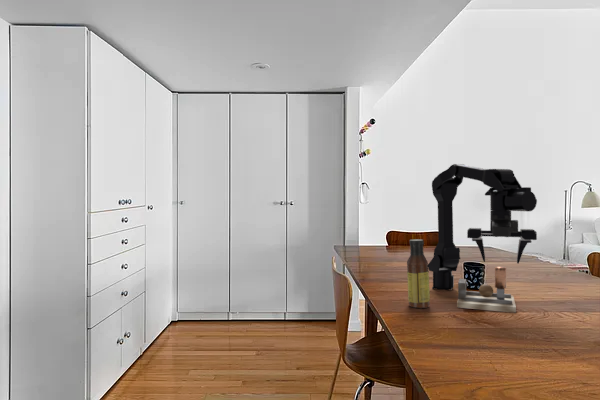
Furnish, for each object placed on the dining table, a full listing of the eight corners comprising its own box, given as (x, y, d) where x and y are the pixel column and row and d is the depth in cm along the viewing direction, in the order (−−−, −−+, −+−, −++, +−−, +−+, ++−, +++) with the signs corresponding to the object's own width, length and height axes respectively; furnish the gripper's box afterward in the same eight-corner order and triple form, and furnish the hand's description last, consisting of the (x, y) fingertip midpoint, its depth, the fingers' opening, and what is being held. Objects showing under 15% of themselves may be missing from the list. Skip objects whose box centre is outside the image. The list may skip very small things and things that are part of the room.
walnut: (478, 298, 134) (478, 284, 134) (479, 295, 138) (479, 282, 138) (493, 299, 133) (493, 285, 133) (493, 296, 136) (493, 283, 136)
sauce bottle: (430, 304, 134) (430, 239, 134) (429, 309, 128) (429, 241, 128) (408, 303, 137) (408, 238, 136) (406, 308, 131) (405, 240, 131)
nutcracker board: (457, 307, 131) (457, 285, 131) (460, 296, 146) (460, 276, 146) (515, 312, 125) (515, 289, 125) (513, 300, 140) (513, 279, 140)
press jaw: (494, 300, 132) (494, 268, 132) (494, 296, 137) (494, 265, 137) (506, 301, 130) (506, 269, 130) (506, 297, 136) (506, 266, 136)
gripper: (466, 211, 130) (466, 264, 130) (538, 211, 123) (538, 268, 123) (467, 210, 140) (468, 259, 140) (534, 210, 133) (534, 262, 133)
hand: (500, 262), depth 134 cm, fingers open, 9 cm apart
